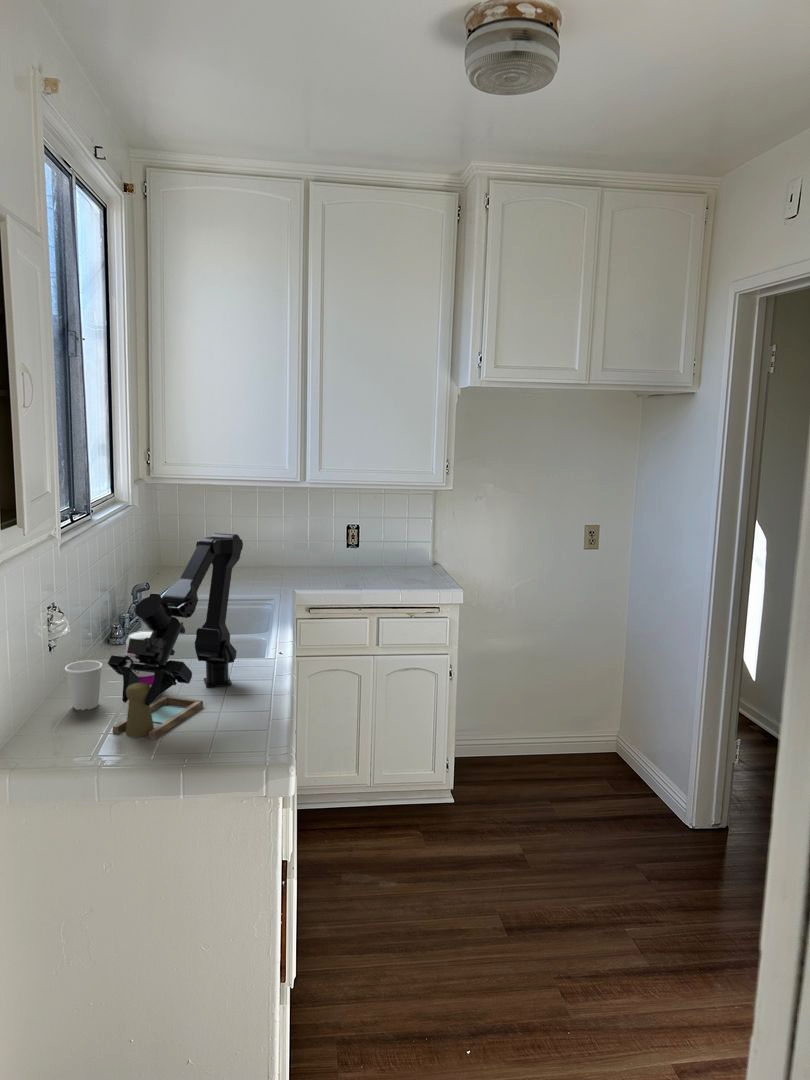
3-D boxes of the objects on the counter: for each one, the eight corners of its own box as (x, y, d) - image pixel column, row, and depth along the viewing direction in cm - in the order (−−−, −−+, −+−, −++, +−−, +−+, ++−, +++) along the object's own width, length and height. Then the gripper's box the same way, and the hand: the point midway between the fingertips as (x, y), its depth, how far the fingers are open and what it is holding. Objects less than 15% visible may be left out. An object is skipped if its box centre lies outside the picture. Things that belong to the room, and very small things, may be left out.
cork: (144, 724, 182) (142, 677, 180) (159, 731, 178) (158, 683, 176) (120, 732, 177) (118, 684, 175) (135, 739, 173) (133, 691, 172)
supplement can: (168, 688, 205) (166, 631, 202) (150, 699, 197) (148, 640, 194) (141, 685, 207) (138, 628, 204) (121, 695, 199) (119, 637, 197)
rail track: (165, 701, 196) (165, 695, 196) (203, 706, 193) (202, 700, 193) (113, 732, 177) (112, 726, 177) (153, 738, 174) (153, 732, 174)
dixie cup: (90, 697, 198) (88, 658, 196) (111, 704, 194) (109, 664, 192) (59, 707, 191) (57, 667, 190) (81, 714, 187) (78, 673, 185)
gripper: (110, 619, 180) (80, 682, 172) (183, 626, 175) (155, 692, 166) (133, 643, 189) (105, 704, 180) (203, 651, 184) (178, 714, 175)
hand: (135, 703), depth 175 cm, fingers open, 5 cm apart
